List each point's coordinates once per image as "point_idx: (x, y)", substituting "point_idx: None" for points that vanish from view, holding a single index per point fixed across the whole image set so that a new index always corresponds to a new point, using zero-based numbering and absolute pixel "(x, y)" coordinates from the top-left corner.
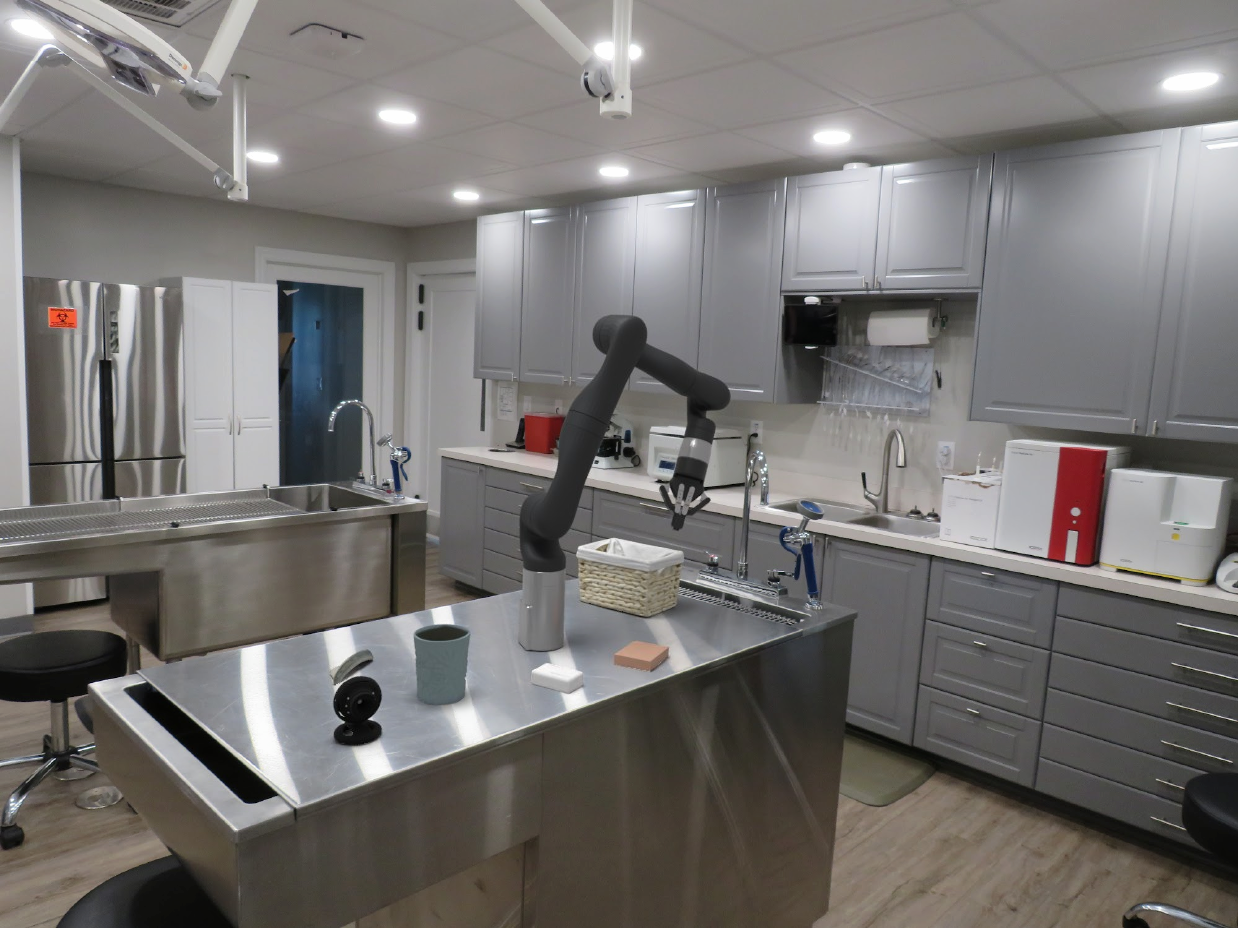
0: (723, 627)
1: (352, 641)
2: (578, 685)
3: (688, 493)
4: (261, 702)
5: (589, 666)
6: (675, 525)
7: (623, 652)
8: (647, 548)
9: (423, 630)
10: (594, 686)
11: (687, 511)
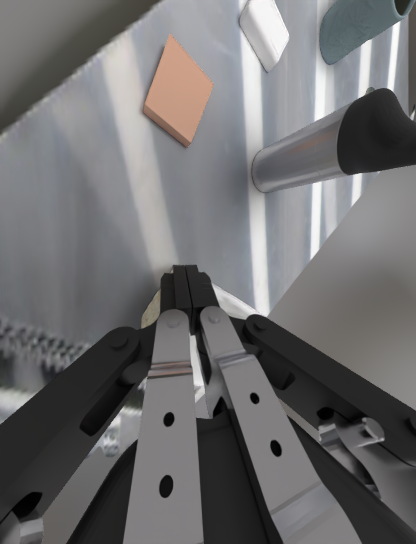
0: (61, 249)
1: (353, 181)
2: (245, 7)
3: (196, 540)
4: (391, 63)
5: (231, 91)
6: (192, 269)
7: (203, 90)
8: (201, 375)
9: (406, 9)
10: (228, 10)
11: (154, 342)
